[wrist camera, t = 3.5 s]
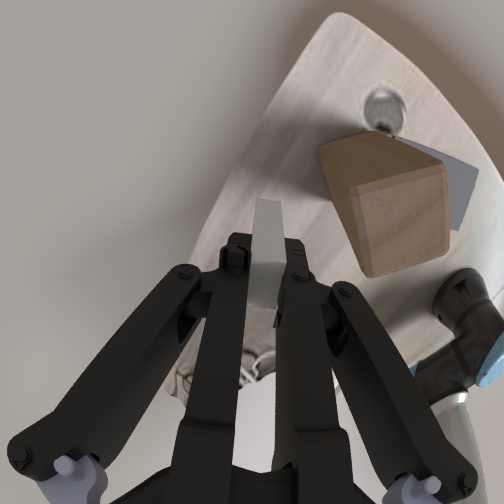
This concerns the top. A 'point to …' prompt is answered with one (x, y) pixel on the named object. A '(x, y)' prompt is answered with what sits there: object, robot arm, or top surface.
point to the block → (388, 200)
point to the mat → (453, 182)
